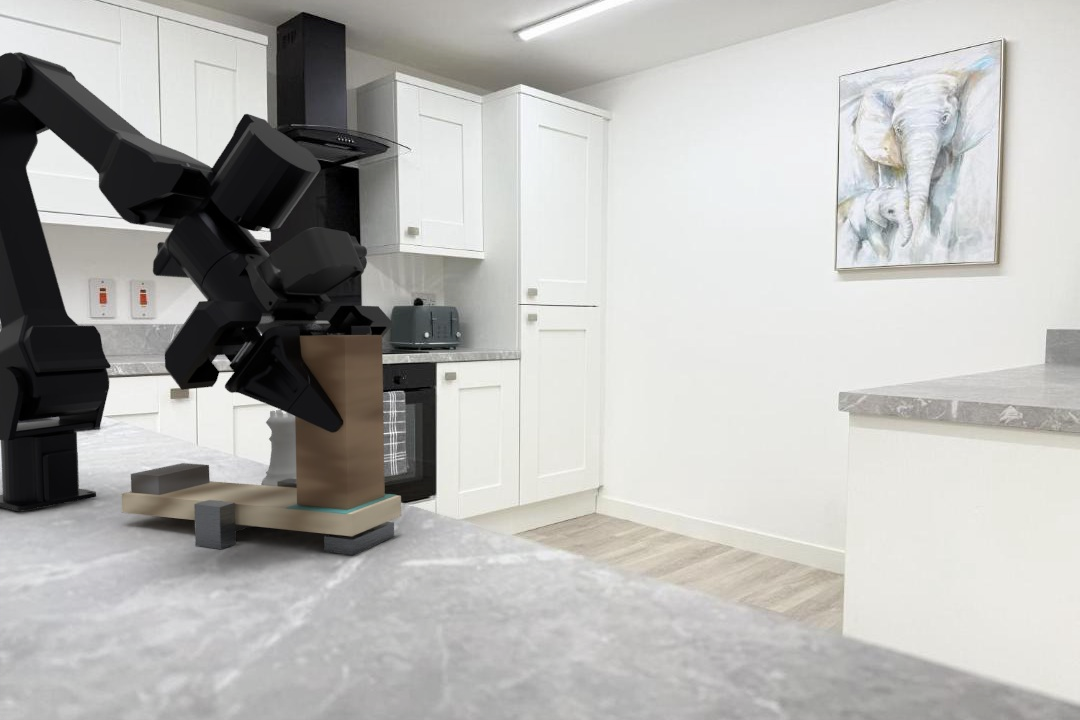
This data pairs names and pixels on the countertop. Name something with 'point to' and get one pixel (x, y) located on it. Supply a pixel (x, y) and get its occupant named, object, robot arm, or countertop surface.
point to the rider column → (358, 446)
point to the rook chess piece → (281, 448)
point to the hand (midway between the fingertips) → (359, 423)
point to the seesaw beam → (247, 502)
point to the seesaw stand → (220, 530)
